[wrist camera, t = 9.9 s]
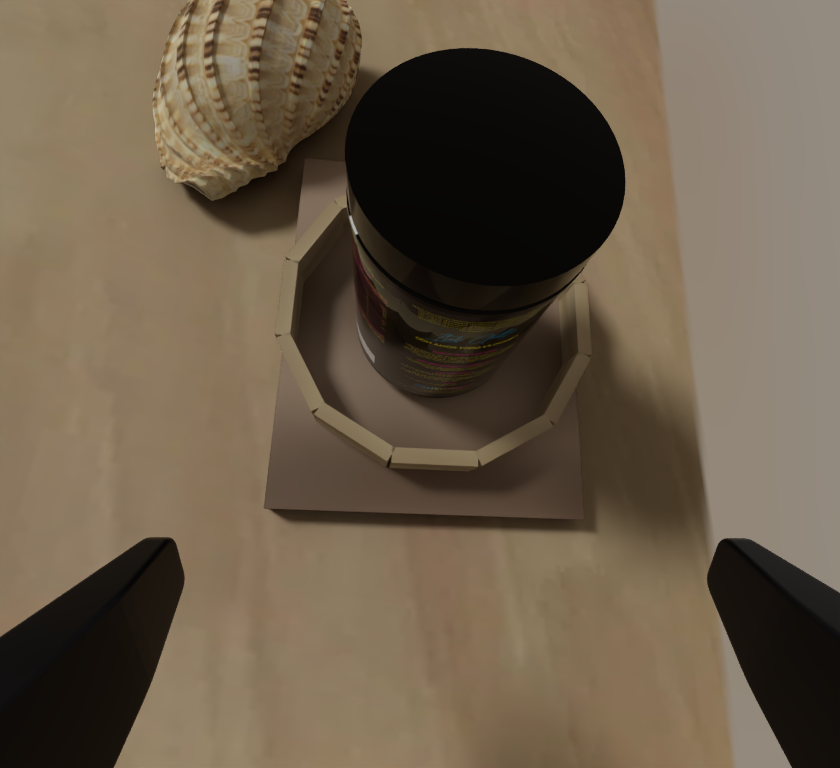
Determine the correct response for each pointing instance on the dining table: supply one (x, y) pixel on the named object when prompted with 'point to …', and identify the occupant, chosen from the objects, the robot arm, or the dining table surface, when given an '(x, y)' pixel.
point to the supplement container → (470, 211)
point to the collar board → (413, 399)
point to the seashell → (249, 86)
